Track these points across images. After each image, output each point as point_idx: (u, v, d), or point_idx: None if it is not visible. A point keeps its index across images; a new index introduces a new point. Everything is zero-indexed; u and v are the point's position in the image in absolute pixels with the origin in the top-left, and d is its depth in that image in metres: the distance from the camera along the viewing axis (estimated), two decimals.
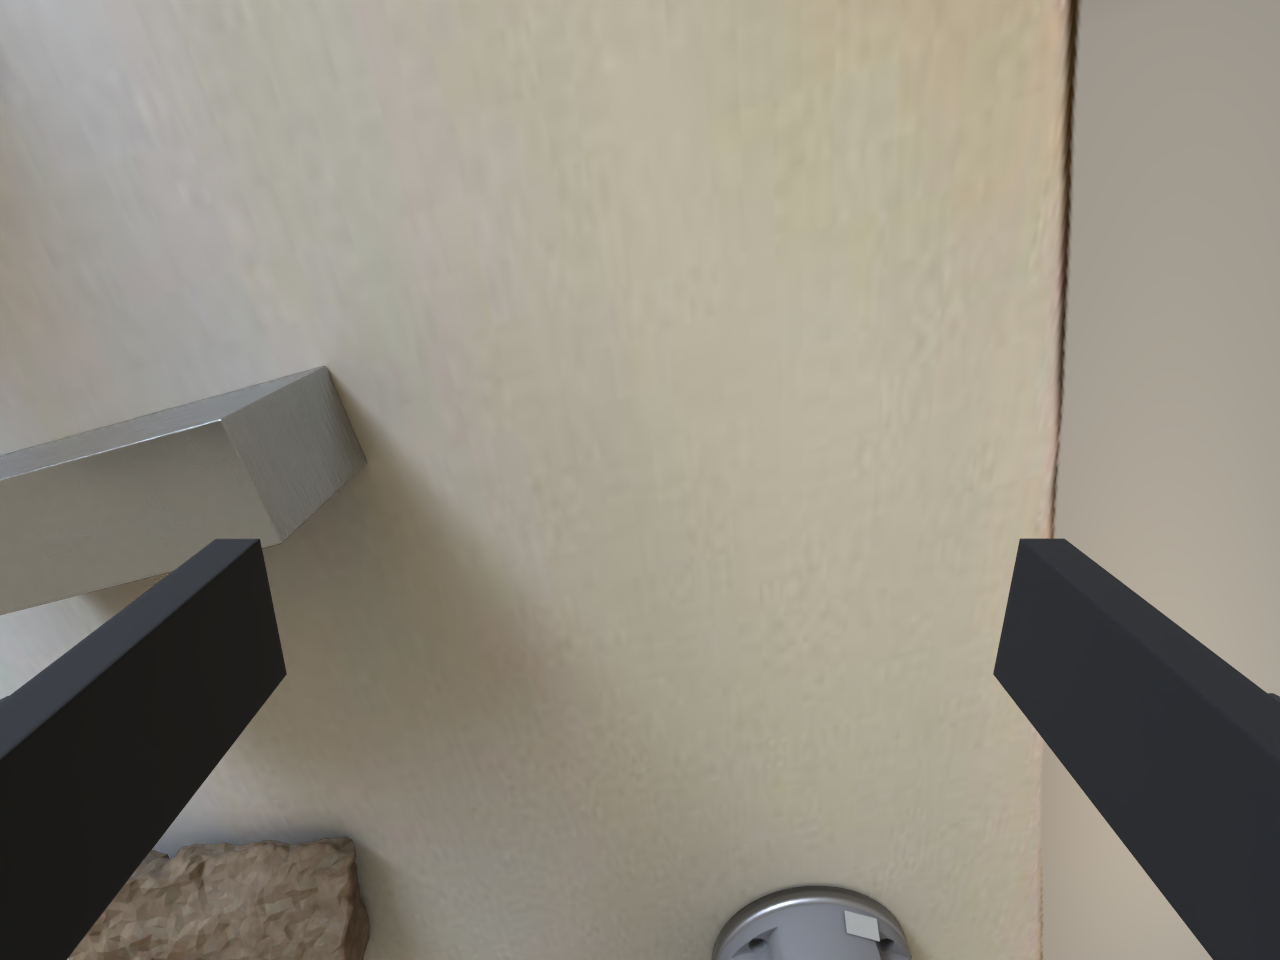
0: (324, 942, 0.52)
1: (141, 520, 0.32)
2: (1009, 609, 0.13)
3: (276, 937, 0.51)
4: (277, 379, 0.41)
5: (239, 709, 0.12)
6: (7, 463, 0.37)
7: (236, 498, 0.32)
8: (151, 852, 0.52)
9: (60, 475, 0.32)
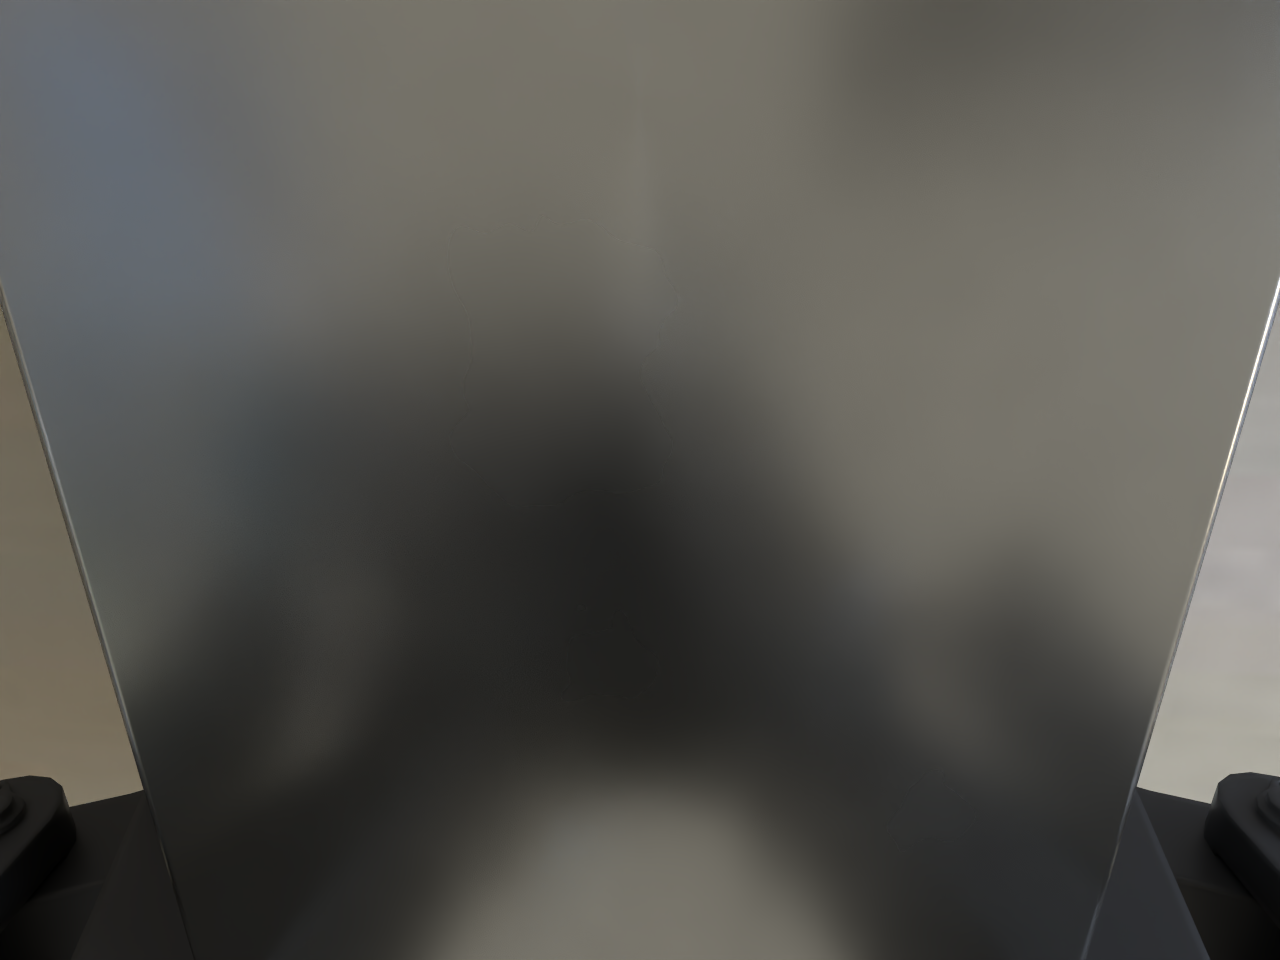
0: None
1: None
2: None
3: None
4: None
5: None
6: None
7: None
8: None
9: (1077, 715, 0.04)
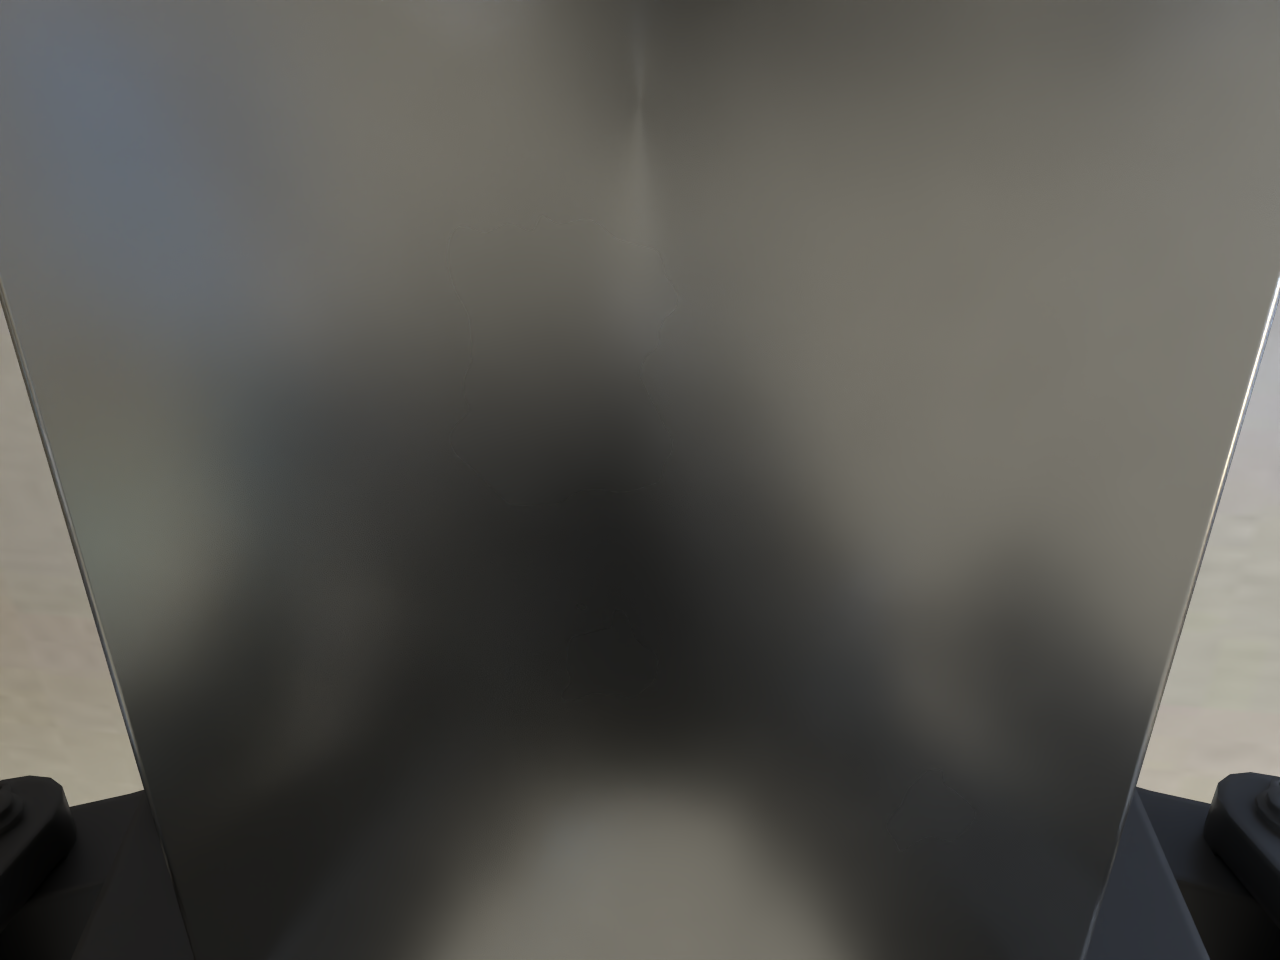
0: None
1: None
2: None
3: None
4: None
5: None
6: None
7: None
8: None
9: (1076, 715, 0.04)
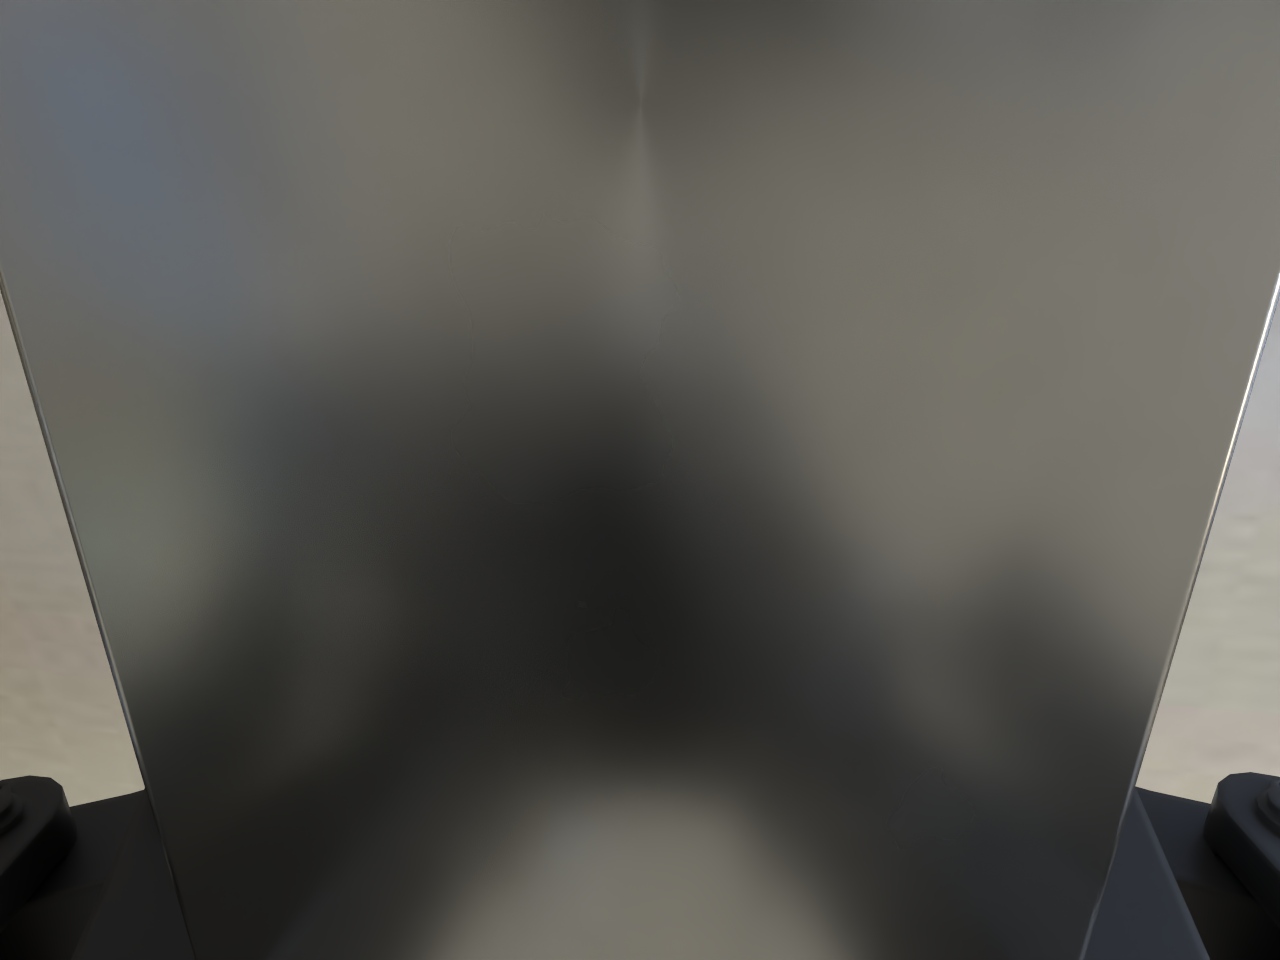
0: None
1: None
2: None
3: None
4: None
5: None
6: None
7: None
8: None
9: (1075, 713, 0.04)
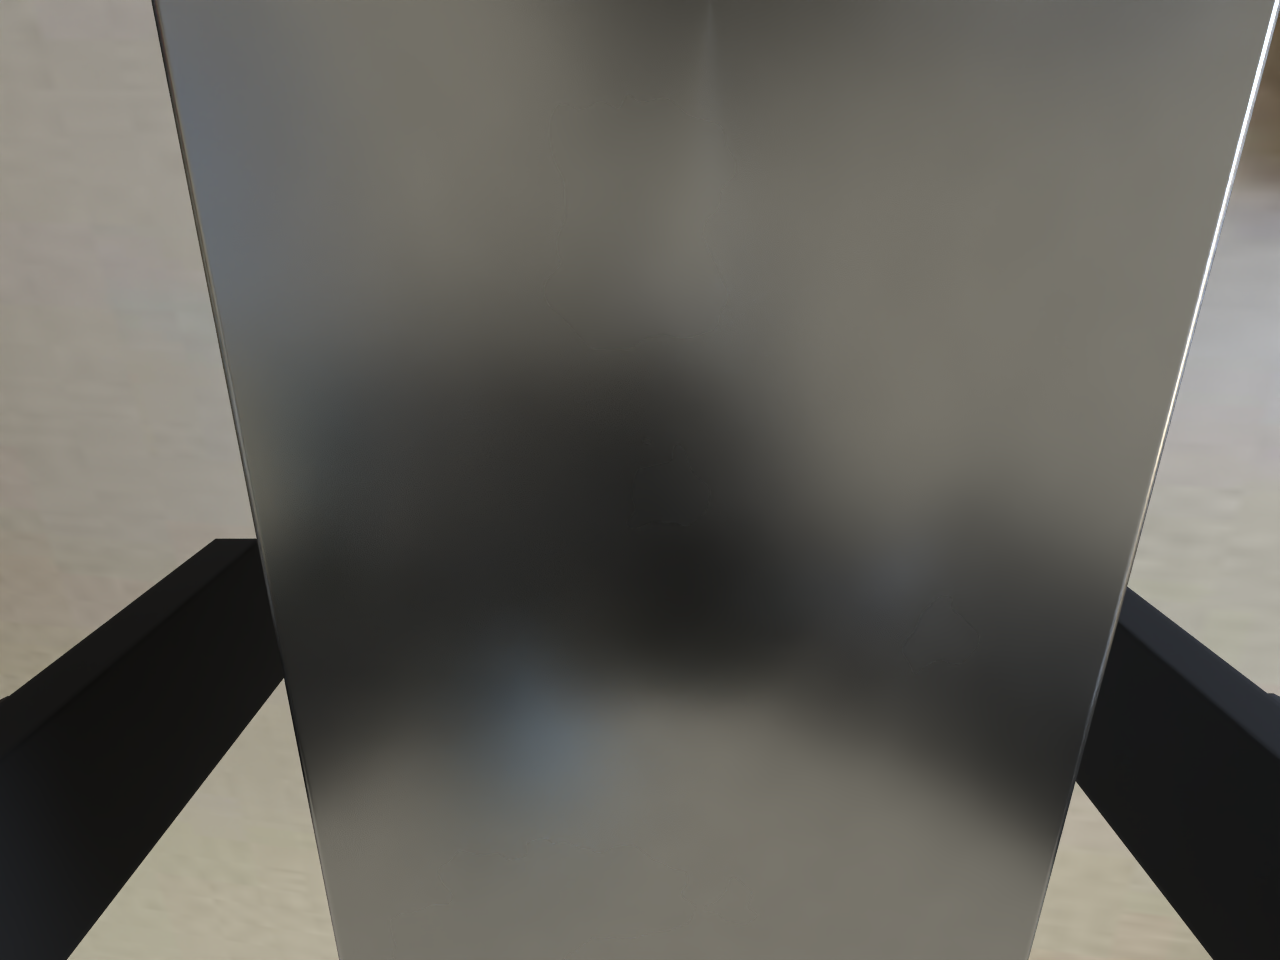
0: None
1: (642, 810, 0.06)
2: None
3: None
4: None
5: (240, 709, 0.12)
6: None
7: None
8: None
9: (1067, 545, 0.05)
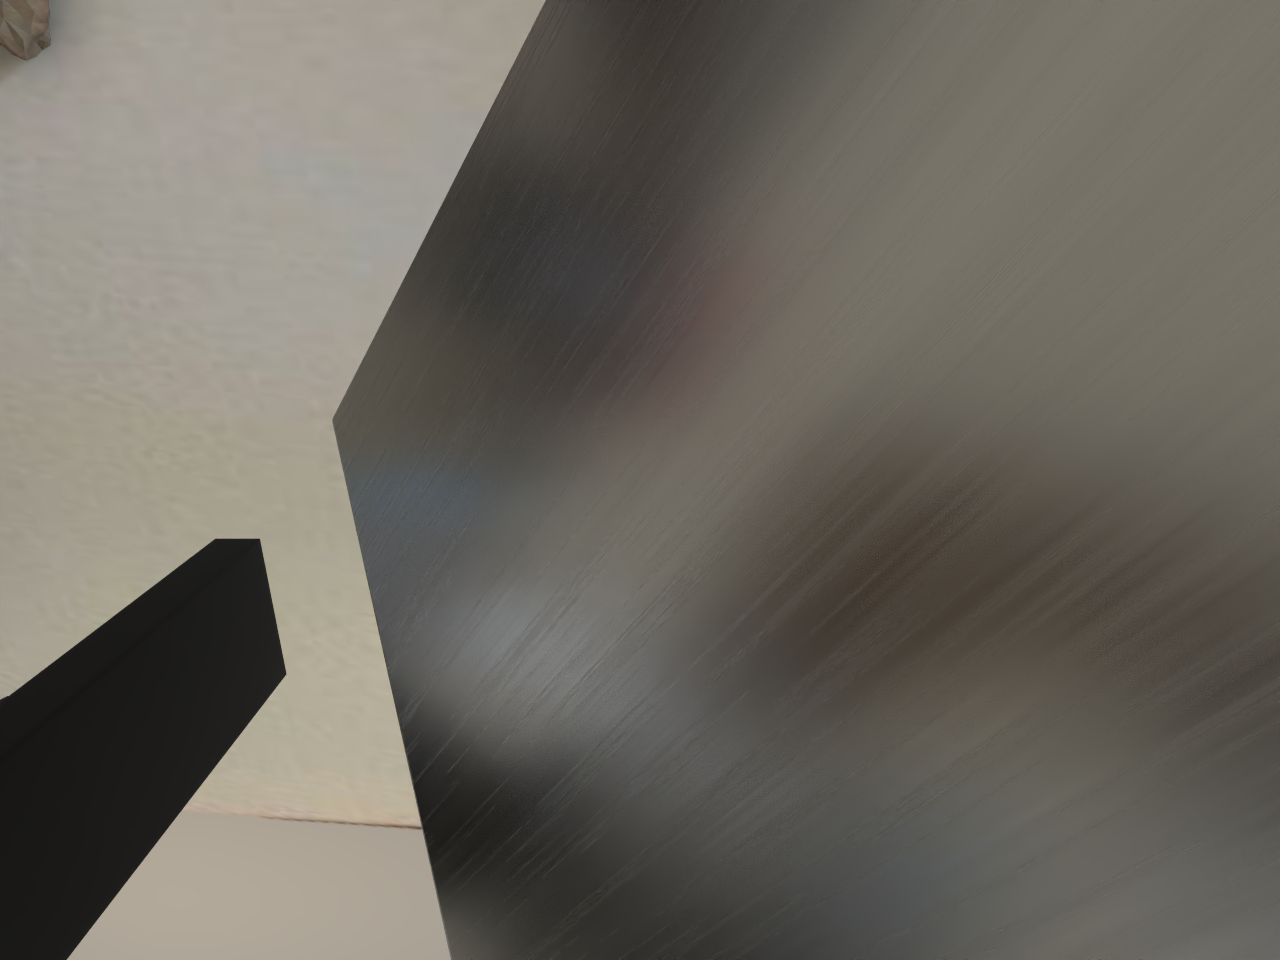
0: None
1: None
2: None
3: None
4: None
5: (239, 709, 0.12)
6: None
7: None
8: None
9: None
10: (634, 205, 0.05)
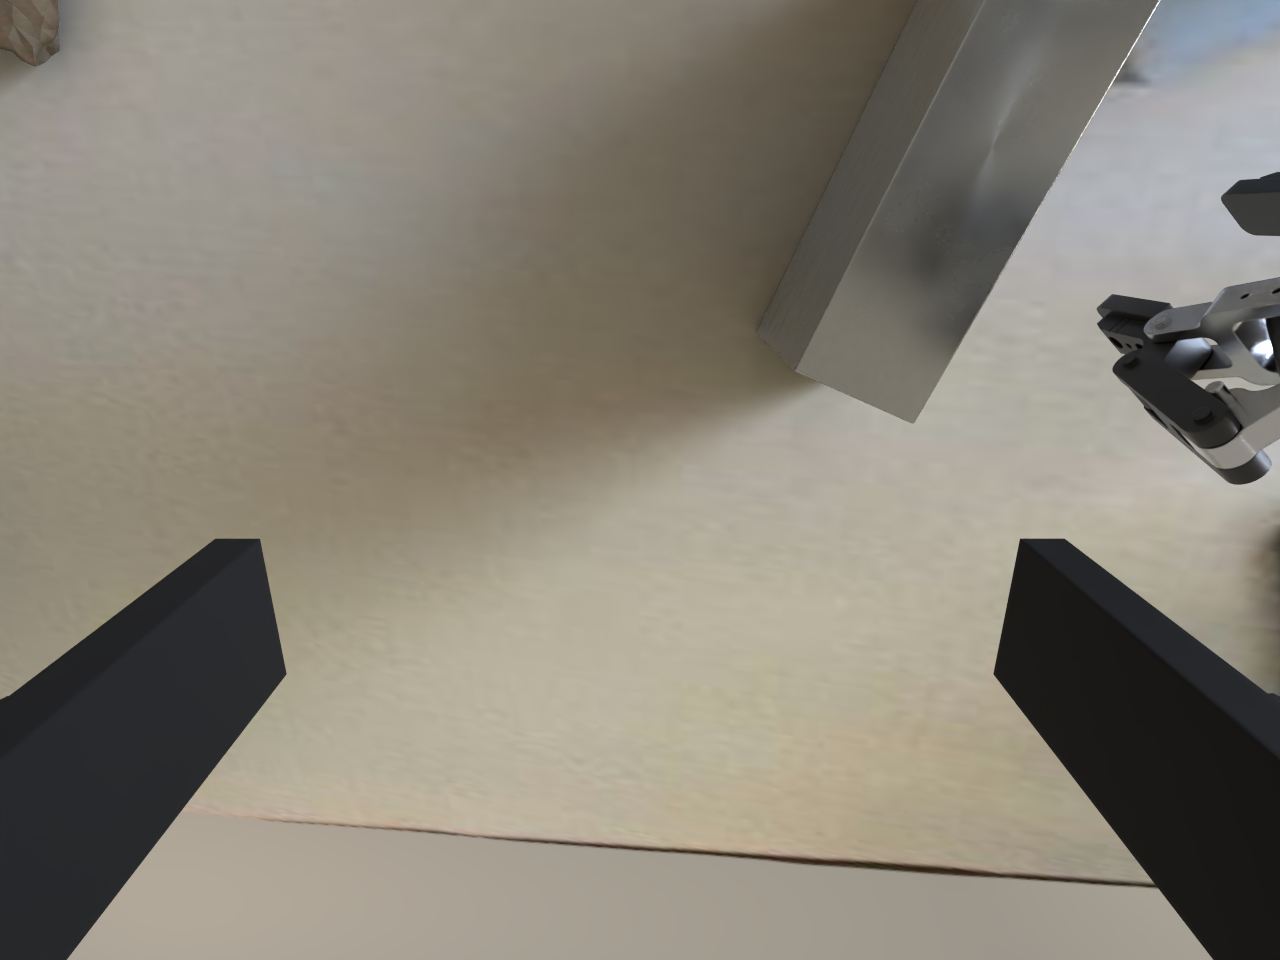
0: None
1: (1081, 1, 0.27)
2: (1009, 610, 0.13)
3: None
4: None
5: (239, 709, 0.12)
6: (836, 219, 0.35)
7: None
8: None
9: (981, 33, 0.27)
10: None
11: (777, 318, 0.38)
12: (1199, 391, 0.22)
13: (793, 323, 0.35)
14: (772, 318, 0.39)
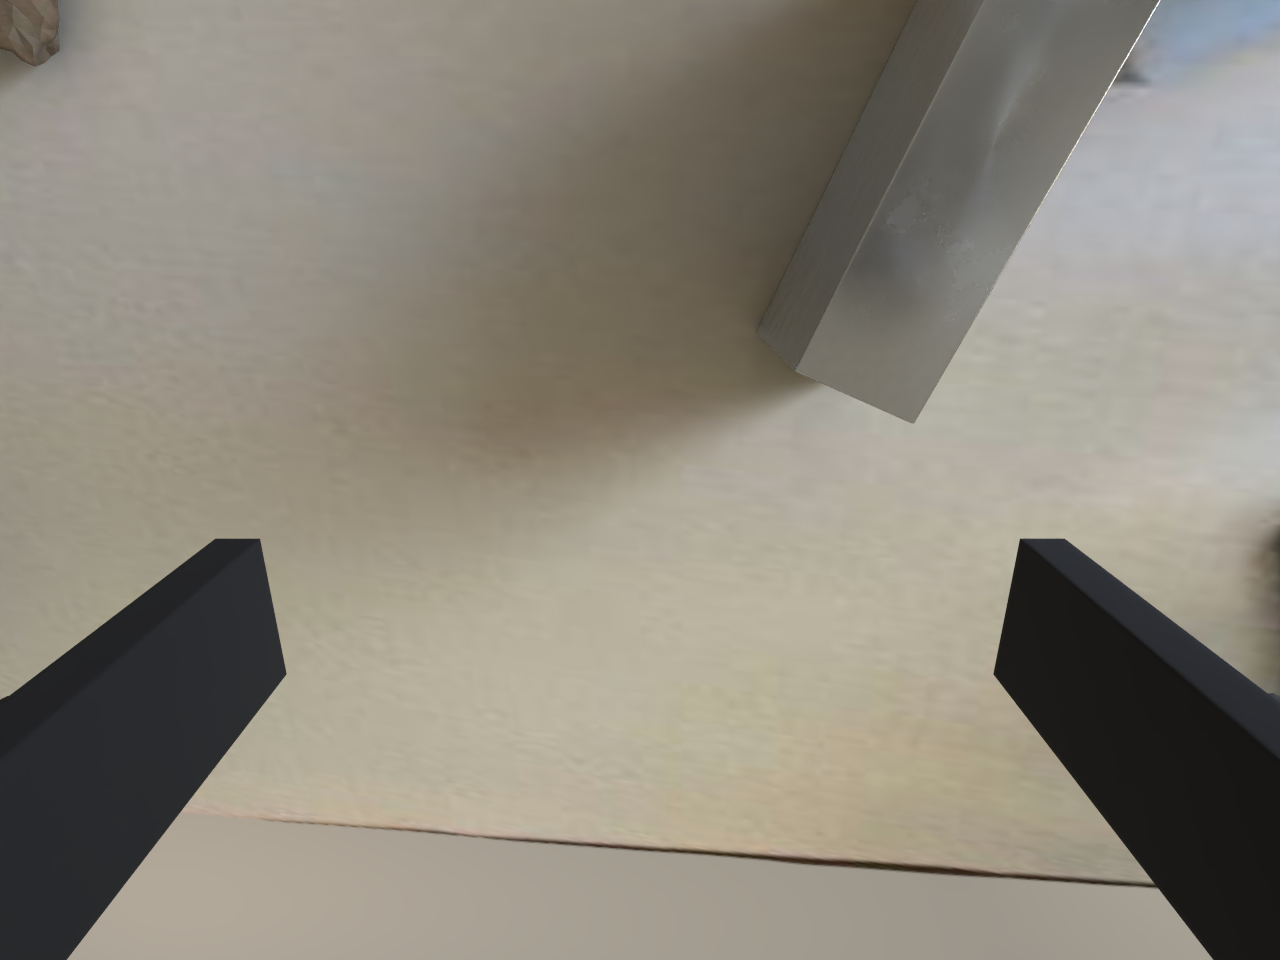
0: None
1: (1081, 1, 0.27)
2: (1009, 610, 0.13)
3: None
4: None
5: (239, 709, 0.12)
6: (836, 219, 0.35)
7: None
8: None
9: (982, 33, 0.27)
10: None
11: (777, 318, 0.38)
12: None
13: (793, 323, 0.35)
14: (772, 318, 0.39)
